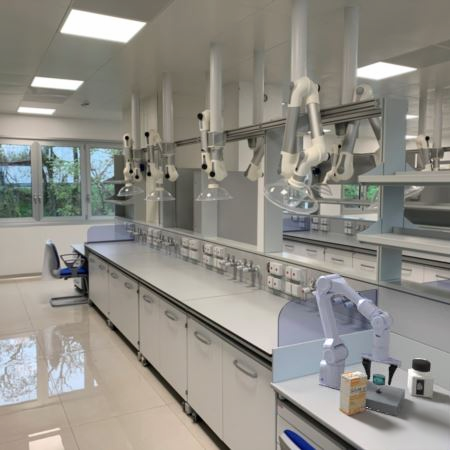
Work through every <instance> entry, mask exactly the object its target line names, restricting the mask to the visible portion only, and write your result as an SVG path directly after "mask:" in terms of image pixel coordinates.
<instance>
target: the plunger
mask: <svg viewBox="0 0 450 450" xmlns="http://www.w3.org/2000/svg"><path fill="white" fill-rule="evenodd" d="M386 378H387V377H386V375H384V374H381V373H374V374H373V375H372V382H373V383H374V384H376V385H377V392H376V393H380V385H386ZM380 394H381V393H380Z"/></svg>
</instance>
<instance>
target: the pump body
mask: <svg viewBox="0 0 450 450" xmlns="http://www.w3.org/2000/svg"><path fill="white" fill-rule="evenodd" d="M405 396H406V389H404V388H399V387H396V386H392V385H388V384H385V385H380V393H377V385H376V384H374V383H373V381H371V380H367V389H366V405H365V407H368V408H371V409H370V410H372V409H375V410H379V411H382V412H381V413H383V412H385V413H384V414H386V413H388V414H387V415H390V414H391V415H392V416H395V417H397V416H398V413H399V412H400V410H401V408H402V405H403V403H404V401H405V398H406V397H405ZM368 408H367V409H368ZM375 410H374V411H375ZM379 411H378V412H379Z"/></svg>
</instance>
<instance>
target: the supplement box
mask: <svg viewBox="0 0 450 450" xmlns="http://www.w3.org/2000/svg"><path fill="white" fill-rule="evenodd" d="M367 381H368V380H367V375H366V373H364V372H361V371H359V370H357V371H353V372H348V373H344V374H341V388H340V389H339V411H340V412H342V413H344V414H345V415H346V416H350V415H354V414H357V413H362V412H365V411H366V408H365V405H366V389H367Z"/></svg>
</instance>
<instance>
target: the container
mask: <svg viewBox="0 0 450 450" xmlns="http://www.w3.org/2000/svg"><path fill="white" fill-rule="evenodd" d="M411 361H412V362H411V368H408V371H407V386H406V387H407V390H408V391H409V394H410V395H411V396H412V397H422V398H430V399H431V398H433V395H434V381H435V379H434V377H433V375H432V374H431V361H429V360H428V359H425V358H421V357H418V358H417V357H415V358H413V359H412V360H411Z"/></svg>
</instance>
